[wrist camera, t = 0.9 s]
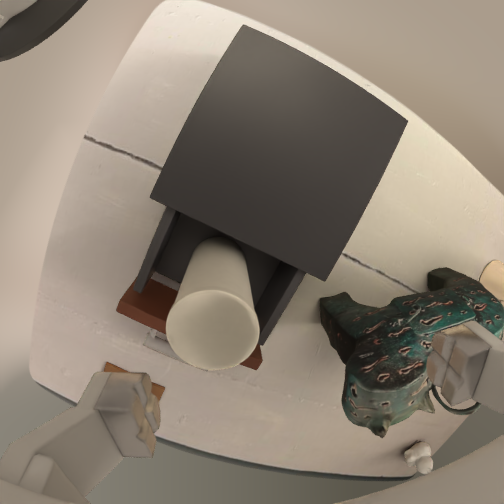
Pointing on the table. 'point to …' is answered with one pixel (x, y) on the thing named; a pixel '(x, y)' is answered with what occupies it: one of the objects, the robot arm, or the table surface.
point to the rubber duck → (419, 457)
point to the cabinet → (280, 153)
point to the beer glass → (494, 279)
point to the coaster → (156, 388)
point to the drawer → (174, 267)
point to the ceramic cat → (401, 345)
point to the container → (214, 308)
